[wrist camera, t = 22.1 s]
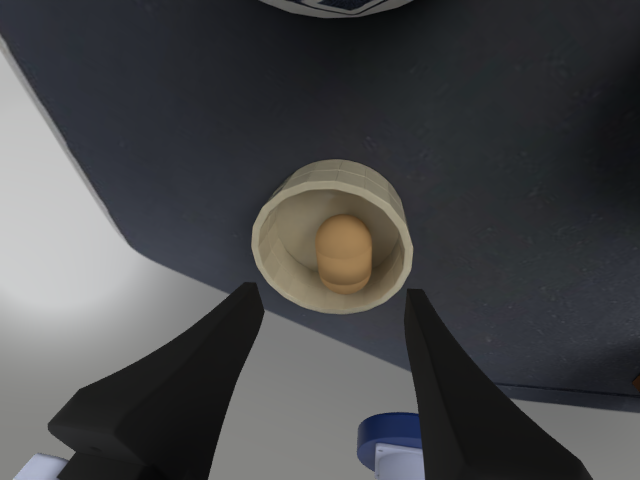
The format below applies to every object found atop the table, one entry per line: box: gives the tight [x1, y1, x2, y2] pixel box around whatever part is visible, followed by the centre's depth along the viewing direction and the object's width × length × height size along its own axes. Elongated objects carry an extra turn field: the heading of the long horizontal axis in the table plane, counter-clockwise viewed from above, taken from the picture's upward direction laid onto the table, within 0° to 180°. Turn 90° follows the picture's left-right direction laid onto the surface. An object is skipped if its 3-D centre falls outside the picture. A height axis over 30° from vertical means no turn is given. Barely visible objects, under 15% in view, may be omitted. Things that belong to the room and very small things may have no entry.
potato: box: [315, 214, 372, 295], centre depth 15 cm, size 5×3×3 cm, turn 6°
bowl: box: [251, 159, 413, 314], centre depth 15 cm, size 8×8×4 cm
